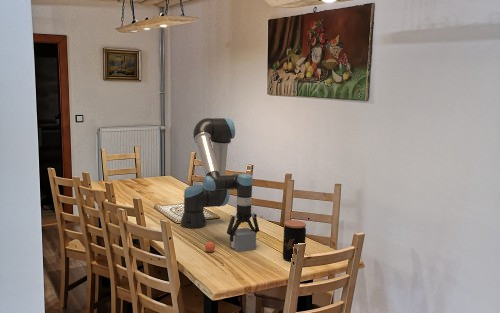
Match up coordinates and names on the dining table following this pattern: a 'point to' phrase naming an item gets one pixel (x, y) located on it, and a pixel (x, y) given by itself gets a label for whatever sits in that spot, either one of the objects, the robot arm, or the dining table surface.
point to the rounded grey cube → (244, 240)
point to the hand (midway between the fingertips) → (242, 246)
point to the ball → (210, 246)
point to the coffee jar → (293, 237)
